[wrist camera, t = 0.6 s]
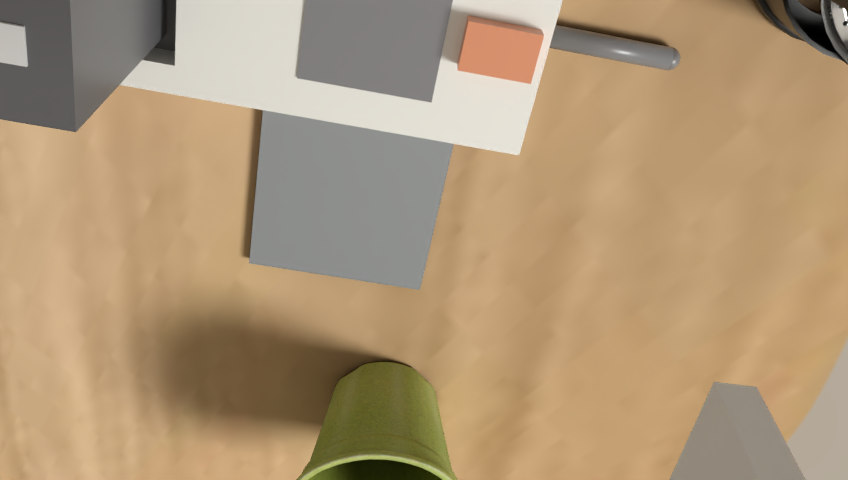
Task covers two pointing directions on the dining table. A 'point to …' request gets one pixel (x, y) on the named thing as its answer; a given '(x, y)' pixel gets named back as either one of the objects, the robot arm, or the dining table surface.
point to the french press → (812, 24)
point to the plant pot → (381, 429)
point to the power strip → (378, 61)
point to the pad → (346, 200)
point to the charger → (71, 55)
